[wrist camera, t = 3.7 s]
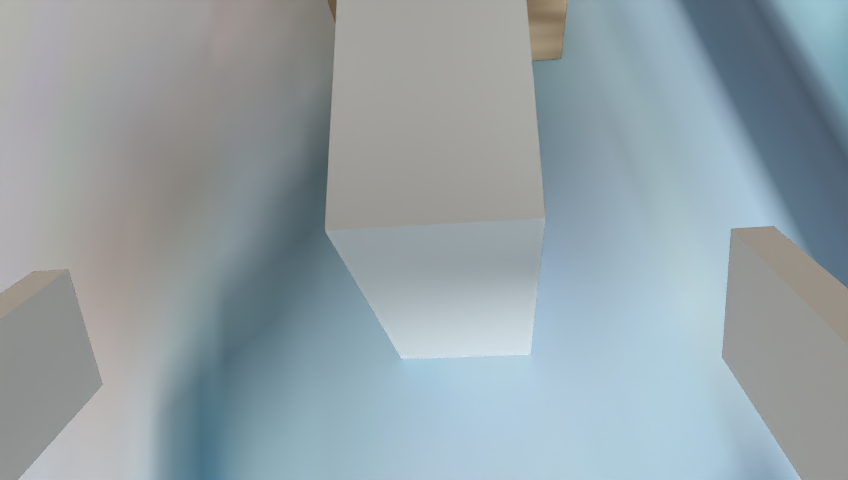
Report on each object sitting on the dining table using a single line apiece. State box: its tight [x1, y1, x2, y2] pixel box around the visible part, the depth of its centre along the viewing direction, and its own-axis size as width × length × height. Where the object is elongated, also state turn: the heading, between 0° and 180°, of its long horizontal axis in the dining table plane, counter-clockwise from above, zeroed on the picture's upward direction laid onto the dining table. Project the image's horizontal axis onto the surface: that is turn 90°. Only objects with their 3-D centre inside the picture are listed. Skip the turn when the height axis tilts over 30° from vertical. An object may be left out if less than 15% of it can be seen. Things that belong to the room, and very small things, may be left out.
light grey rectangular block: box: [325, 0, 546, 359], centre depth 21 cm, size 4×18×10 cm, turn 0°
